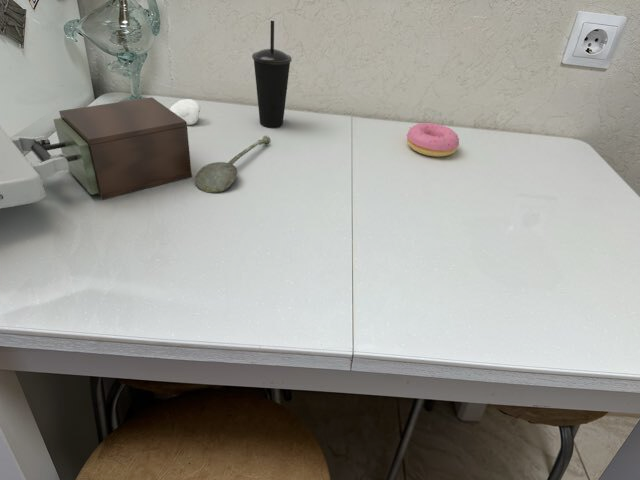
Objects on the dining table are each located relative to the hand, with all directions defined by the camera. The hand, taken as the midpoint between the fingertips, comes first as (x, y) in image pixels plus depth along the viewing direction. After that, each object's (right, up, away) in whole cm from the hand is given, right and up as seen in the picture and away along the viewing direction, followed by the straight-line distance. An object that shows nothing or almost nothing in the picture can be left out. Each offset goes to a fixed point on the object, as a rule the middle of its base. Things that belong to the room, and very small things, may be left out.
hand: (57, 151), depth 72 cm
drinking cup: (+26, +13, +33) cm, 44 cm away
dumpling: (+9, +13, +29) cm, 33 cm away
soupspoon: (+23, +1, +16) cm, 28 cm away
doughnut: (+60, +7, +31) cm, 68 cm away
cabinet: (+7, -1, +10) cm, 12 cm away
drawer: (+4, -2, +7) cm, 8 cm away
